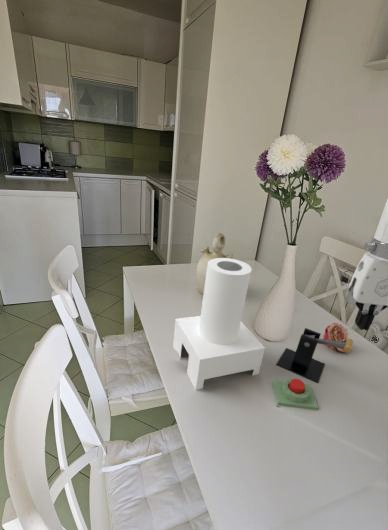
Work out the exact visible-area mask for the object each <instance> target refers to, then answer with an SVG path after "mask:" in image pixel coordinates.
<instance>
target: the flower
mask: <svg viewBox="0 0 388 530" xmlns="http://www.w3.org/2000/svg"><path fill="white" fill-rule="evenodd" d="M348 335H349V332H348V328H345V327H344V326H343V325H342V324H339V323H338V322H332V323H331V324H328V325H327V326H326V328H325V329H324V334H323V336H322V339H325V340H332V341H339V342H346V341H347V339H349V338H348ZM326 346H327V347H328V348H330V349H331V350H334V351H336V349H337V351H339V352H341V353H346V352H345V350H344V348H345V347H339V346H332V345H326Z"/></svg>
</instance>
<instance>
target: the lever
mask: <svg viewBox="0 0 388 530" xmlns="http://www.w3.org/2000/svg"><path fill="white" fill-rule="evenodd" d="M305 335H306V336H309V337H311V338H314V339H316V340H318V342H317V345H318V344H319V345H326V346H327V345H332V346H339V347H345V348H344V350H345V352H344V353H351V352H352V348H353V344H354V340H353V339H352V338H348V339H347V341H346V342H339V341H332V340H325V339H323V338H319V339H318V338H315V335H311V334H305Z"/></svg>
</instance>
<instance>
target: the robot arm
mask: <svg viewBox="0 0 388 530" xmlns="http://www.w3.org/2000/svg"><path fill="white" fill-rule="evenodd" d="M364 250H368V251H367V252H366V251H365V253H364V254H363V256H362V257H361V259H360V261H359V262H358V264H357V266H356V268H355V270H354V272H353V275H352V277H351V279H350V282H349V285H348V288H347V292H348V293H347V295H346V297H345V301H346V303H348V304H350V305H354V306H356V307H357V309H358V310H357V314H356V316H355V319H354V323H355V325H356V326H357V327H358V329H359V330H361V331H363V330H364V331H369V329H370V326H371V325H372V324H373V321H374V320H375V317H376V316H378V315H379V314H380V313H381V312H382V311H384V310H386V309H388V198H387V199H386V202H385V204H384V208H383V209H382V213H381V216H380V219H379V221H378V224H377V227H376V230H375V233H374V236H373V238H372V239H371V241H370V242H365V243H364Z"/></svg>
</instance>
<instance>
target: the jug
mask: <svg viewBox="0 0 388 530" xmlns="http://www.w3.org/2000/svg"><path fill="white" fill-rule="evenodd" d="M225 245H226V236H225V235H224V234H223V233H222V232H218V233H216V234H215V235H214V238H213V241H212V251H213V252H210V246H205V247H204V248H201V249H200V250H199V252H200V253H202V254H203V255H202V257H201V258H200V259H199V261H198V262H197V266H196V282H197V283H196V284H197V289H198V292H199V293H201V294H202V295H203V294H204V287H205V279H206V272H207V264H208V262H209V261H210V260H211V259H215V258H230V259H234V254H233V253H230V254H224V253H223V251H224V248H225V247H226V246H225Z"/></svg>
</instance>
